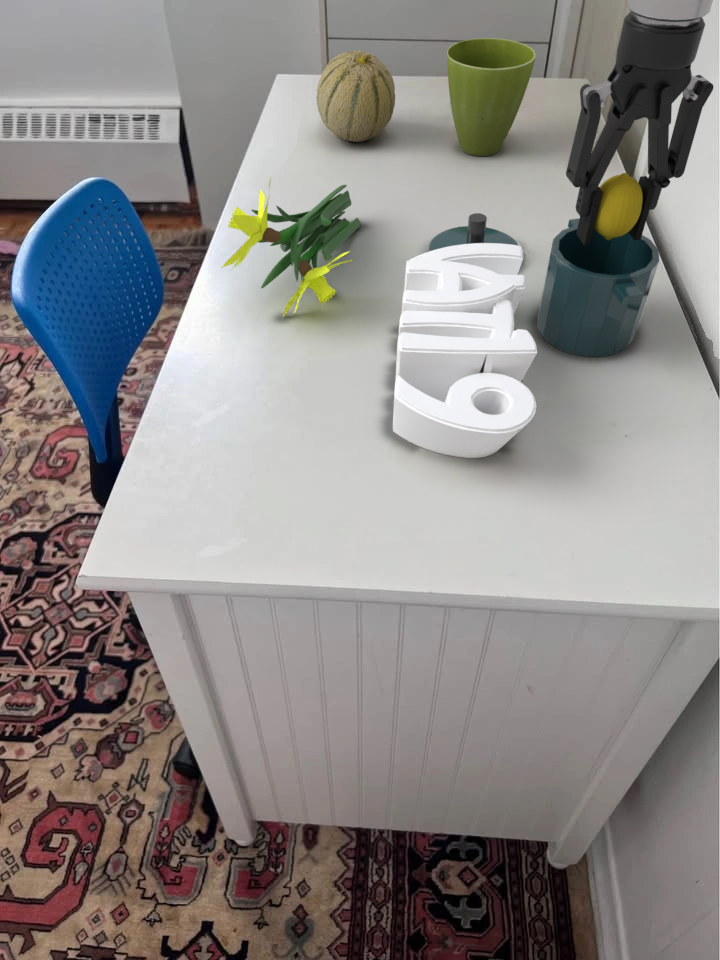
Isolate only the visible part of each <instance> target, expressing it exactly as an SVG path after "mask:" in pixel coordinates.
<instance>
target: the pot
mask: <svg viewBox="0 0 720 960" xmlns="http://www.w3.org/2000/svg"><path fill="white" fill-rule="evenodd" d="M579 219H580V218H571V219H569V220H568V223H567V228H565V229H562V230H561V231H560V232H559V233H558V234H556V236H555V237H554V238H553V239H552V243H551V248H550V252H549V258H548V264H547V268H546V274H545V278H544V283H543V289H542V294H541V298H540V304H539V308H538V309H539V310H538V315H537V322H536V323H537V329H538V332H539V334H540V335H541V337H542V338H543V339H544V340H545V341H546V342H547V343H548V344H550V345H551V346H553V347H555V348H556V349H558V350H560V351H563V352H565V353H568V354H571V355H575V356H581V357H589V358H590V357H592V358H598V357H600V358H601V357H609V356H613V355H615V354H617V353H620V352H623V350H625V349H627V348H628V347H629V346H630V344H632V342H633V340H634V338H635V336H636V334H637V331H638V327H639V325H640V323H641V319H642V316H643V313H644V310H645V306H646V303H647V300H648V297H649V294H650V290H651V287H652V285H653V281H654V278H655V276H656V272H657V270H658V266H659V264H660V250H659V249H658V247H657V246H656V245H655V243H654V242H653V241H652V240H651V239H650V238H649V237H646V236H645V235H643V234H642V236H641V240H634V239H633V238H632V237H631V235H630V234H629V233H628V232H627V233H626V234H624V235H622V236H620V237H615V238H612V239H611V240H606V239H605V237H604V236H602V235H601V234H599V233H598V232H597V231H596V230H595V228H594V232H593V236H592V240H591V244H590V245H583V243H582V242H581V240H580V239H579V237H578V236H577V234H576V232H577V228H578V223H579Z"/></svg>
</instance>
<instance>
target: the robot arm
mask: <svg viewBox="0 0 720 960" xmlns="http://www.w3.org/2000/svg"><path fill="white" fill-rule="evenodd" d="M713 2H714V0H628V1H627V8H628V10H629V11H630V12H628V13H627V15H625V16H624V18H623V23H622V27H621V31H620V35H619V41H618V43H617V44H618V45H617V49H616V57H615V63H614V66H613V68H612V69H611V72H610V73H609V75H608V77H607V79H606V80H605V81H603V82H601V83H597V84H595V85H593V86H592V85H591V84H590V83H585V84H583V85H582V86H581V87H580V89H579V98H580V107H581V108H580V112H579V116H578V121H577V123H576V124H577V125H576V129H575V132H574V137H573V140H572V145H571V149H570V153H569V159H568V162H567V165H566V171H565V176H566V178H567V179H568V180H569V182H570V183H571V184H572V185H573V187H574V188H579V189H578V190H579V191H578V194H577V198H576V202H575V211H576V213H577V214H578V216H579V218H578V219H579V223H578V228H577V232H576V234H577V236H578V237H579V239H580V240H581V242H582V243H583V245H590V244H591V240H592V236H593V232H594V228H595V223H596V219H597V215H598V211H599V207H600V203H601V199H602V195H603V191H602V190H601V189H600V186H599V185H600V184H601V181H602V180H603V178H604V176H605V174H606V172H607V170H608V168H609V166H610V164H611V162H612V160H613V158H614V156H615V154H616V152H617V150H618V149H619V146H620V144H621V142H622V141H623V138H624V136H625V135H626V133H627V132H629V131H630V130H631V128H632V127H633V125H634V122H635V121H638V120H641V119H644V118H645V119H647V174H648V176H647V175H641V176H639V177H638V178H639V179H638V181H637V182H638V183H639V185H640V187H641V189H642V194H643V201H642V208H641V213H640V216H639V218H638V220H637V222H636V224H635V225H634V226H633V228H632V229H631V230H630V231H629V232H628V233H629V234H630V235H631V237H632V238H633V239H634V240H641V236H642V235H643V233H644V229H645V226H646V223H647V219H648V216H649V212H650V211H652V210H655V208H657V206H658V203H659V199H660V196H661V194H662V191H663V190H662V189H665V188H667V187H669V185H670V184H671V180H670V179H673V178H675V179H679V178H681V177H683V175H684V173H685V171H686V167H687V163H688V160H689V156H690V153H691V150H692V146H693V144H694V143H693V142H694V139H695V135H696V132H697V128H698V125H699V122H700V119H701V118H700V117H701V115H702V111H703V108H704V106H705V104H706V102H708V99H709V97H710V96H711V94H712V93H713V91H714V84H713V83H712V82H710V81H709V80H708V79H707V78H705V77H704V76H703V75H702V74H697V75H692V64H693V62H694V61H695V60H696V57H697V55H698V50H699V48H700V43H701V41H702V37H703V34H704V30H705V28H706V22H705V20H704V17H706V16H707V15H708V14H709V13H710V12H711V9H712V5H713ZM681 94H682V98H681V100H680V104H679V107H678V109H677V114H676V118H675V122H674V126H673V129H672V133H671V138H670V140H669V137H670V136H669V134H670V125H671V124H672V110H673V109H672V108H673V103H674V102H675V101H676V100H677V99H678V98H679V96H681ZM608 96H610V97H611V99H612V101H613V102H612V104H611V106H610V108H609V111H608V113H607V116H606V117H607V118H606V122H605V124H604V126H603V128H602V130H601V132H600V135H599V137H598V138H597V140H596V137H597V134H598V130H599V126H600V122H601V114H602V109H604V108H605V107H606V102H607V98H608ZM595 140H596V142H595ZM594 144H595V145H594Z"/></svg>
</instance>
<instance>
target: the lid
mask: <svg viewBox="0 0 720 960" xmlns="http://www.w3.org/2000/svg"><path fill="white" fill-rule="evenodd" d="M487 221H488V217H487V215H486V214H484V213H478V212H477V213H471V214H470V215H469V216H468V221H467V225H465V226H457V227H452V228H449V229H446V230H443V231H442V232H439V233H438V234H436V235H435V236H434V237H433V238H432V239H431V241H430V242H429V245H428V252H429V251H432V250H436V249H440V248H444V247H449V246H454V245H462V244H473V243H499V244H511V245H518V246H520V245H519V244H518V242H517V241H516V240H515V239H514V238H513V237H512V236H510V235H509V234H507V233H505V232H503V231H501V230H498V229H495V228H490V227H487Z"/></svg>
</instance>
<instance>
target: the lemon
mask: <svg viewBox="0 0 720 960" xmlns="http://www.w3.org/2000/svg"><path fill="white" fill-rule="evenodd" d="M638 182H639V181H637V180H636V179H635V178H634V177H632V176H630V175H629V174H628V173H627V172H623V173H621V174H617V175H614V176H611V177H609V178H607V179H606V180H605V181H603V182H602V183H601V185H600V186H599V187H600V189H601V190H602V191H603V195H602V199H601V203H600V207H599V211H598V215H597V219H596V223H595V230H596V231H597V232H598V233H599V234H601V235H602V236H604V237H605V239H606V240H611V239H612V238H615V237H620V236H622V235H624V234H626V233H627V232H629V231H630V230H631V229H632V228H633V226H634V225H635V224H636V222H637V220H638V218H639V216H640V213H641V208H642V201H643V194H642V189H641V187H640V185H639V183H638Z"/></svg>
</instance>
